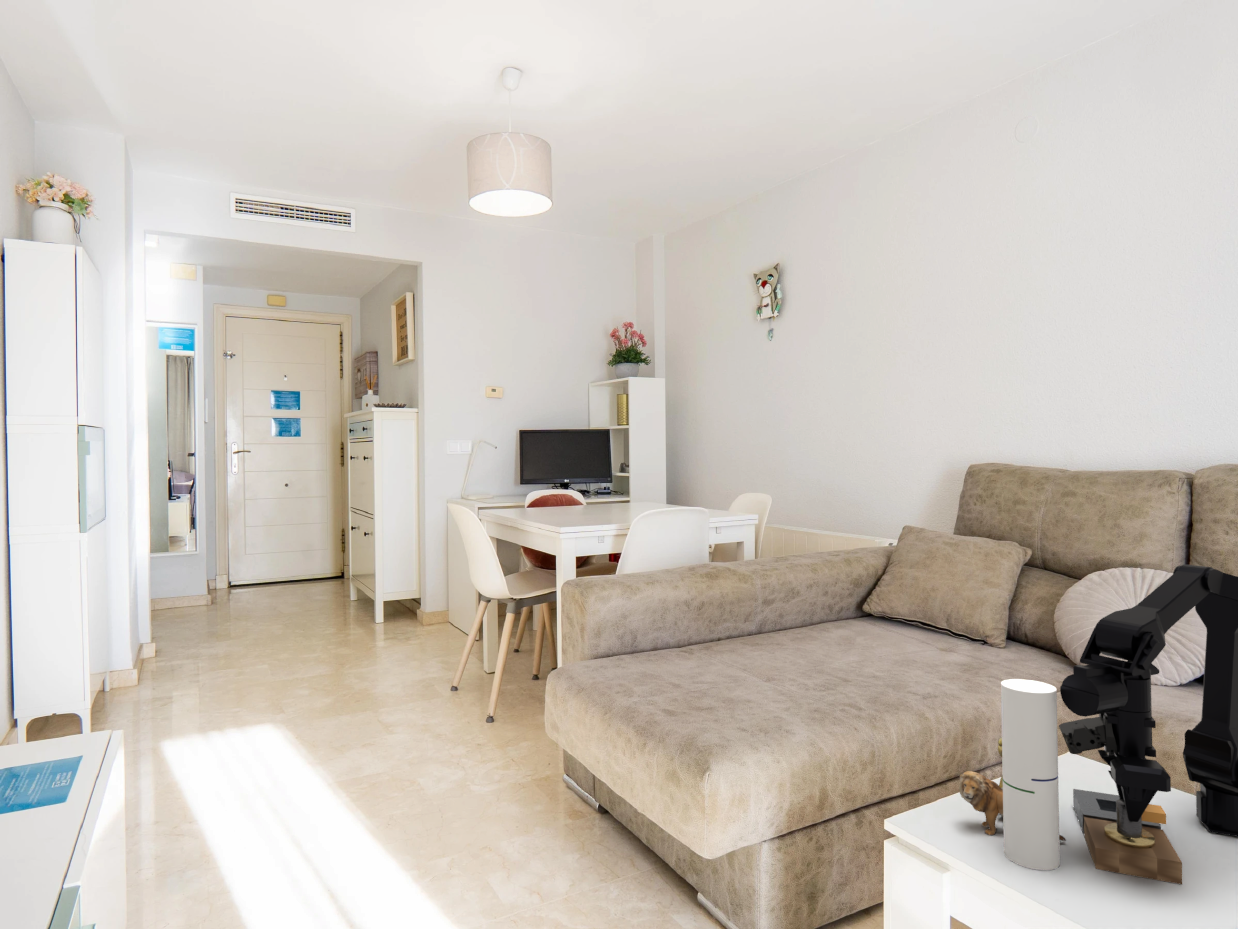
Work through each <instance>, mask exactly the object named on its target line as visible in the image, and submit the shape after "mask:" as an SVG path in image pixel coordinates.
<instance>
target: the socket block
mask: <svg viewBox="0 0 1238 929" xmlns="http://www.w3.org/2000/svg"><path fill="white" fill-rule="evenodd" d="M1072 792H1073V793H1072V794H1073V795H1072V796H1073V797H1072V798H1073V806H1074V807H1073V810H1074V809H1075V810H1074V811H1075V812H1074V813H1075V815H1076V818H1077V820H1079V821H1078V823H1079V826H1080V828H1081V829H1080V830H1081V831H1082V834H1083V835H1084V817H1087V818H1093V819H1099V820H1106V821H1112V822H1117V814H1116V800H1118V799H1120V798H1119V795H1117V794H1111V793H1104V792H1098V791H1090V790H1083V789H1076V788H1072ZM1142 826H1144V827H1150V828H1156V829H1162V826H1161V824H1160V823H1153V822H1147V821H1142Z"/></svg>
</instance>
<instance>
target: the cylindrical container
mask: <svg viewBox="0 0 1238 929" xmlns="http://www.w3.org/2000/svg"><path fill="white" fill-rule="evenodd" d="M1057 691H1058V690H1057V687H1056V686H1054V685H1052V684H1050V683H1047V682H1043V681H1039V680H1032V679H1023V678H1010V679H1009V678H1008V679H1004V680H1001V681H1000V699H1001V701H1000V702H1001V703H1000V704H1001V737H1002V757H1001V760H1002V761H1001V762H1002V763H1001V764H1002V766H1001V767H1002V774H1003V817H1002V821H1003V823H1002V825H1003V827H1002V828H1003V854H1004V856H1005V857H1006V858H1007V859H1008V860H1009V861H1011V862H1013V863H1014V864H1017V865H1018V866H1021V867H1024V868H1027V869H1031V870H1035V871H1036V870H1037V871H1052V870H1055V869H1057V868H1059V867H1060V865H1061V861H1060V860H1061V859H1060V858H1061V857H1060V854H1061V853H1060V852H1061V850H1060V840H1059V835H1060V811H1059V810H1060V808H1059V807H1060V804H1059V803H1060V802H1059V800H1060V798H1059V752H1058V751H1059V750H1058V745H1059V743H1058V740H1059V739H1058V694H1057V693H1058V692H1057Z"/></svg>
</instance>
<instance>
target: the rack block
mask: <svg viewBox="0 0 1238 929" xmlns="http://www.w3.org/2000/svg"><path fill="white" fill-rule="evenodd" d="M1111 823H1117V822H1112V821H1106V820H1099V819H1093V818H1087V817H1084V834H1083V836H1084V840H1085V842H1086V846H1087V848H1088V851H1089V854H1090V857H1091V860H1092V862H1093V864H1094V868H1095V870H1101V871H1106V872H1111V873H1112V872H1113V873H1117V874H1121V875H1122V874H1123V875H1129V876H1134V877H1139V878H1144V879H1150V880H1156V881H1162V882H1168V883H1170V884H1171V883H1172V884H1177V885H1183V862H1182V859H1181V858H1180V856H1179V855H1178V853H1177V852H1176V850H1175V847H1174V846H1173V845H1172V842H1171V841H1170V839H1169V838H1168V835H1167V834H1166V833H1165V830H1164V829H1162V828H1161V829H1156V828H1150V827H1144V826H1142V829H1144V830H1146V831H1148V832H1149V833H1151V834H1152V835H1153V836H1154V838H1155V845H1154V846H1153V847H1151V848H1133V847H1129V846H1125V845H1122V844H1119V843H1117V842H1114V841H1112V840H1111V839H1109V838H1108V837H1107V836H1106V835H1105V826H1106V825H1107V824H1111Z"/></svg>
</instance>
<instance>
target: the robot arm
mask: <svg viewBox="0 0 1238 929" xmlns="http://www.w3.org/2000/svg"><path fill="white" fill-rule="evenodd" d="M1193 608H1194V610H1195V613H1196V614H1197V615H1198V617H1199V618H1200V620H1201V622H1202V623H1203V625H1204V627H1205V629H1206V636H1205V637H1206V639H1205V655H1204V668H1203V669H1204V670H1203V686H1202V688H1203V689H1202V704H1201V705H1202V706H1201V719H1200V721H1199V722H1198V723H1197V724H1196V725H1195V726H1194V727H1193V728H1192V729H1188V728H1187V730H1186V731H1185V733H1184V746H1183V747H1184V748H1183V751H1182V757H1183V762H1184V765H1185V769H1186V773H1187V777H1188V780H1189V781H1191V782H1196V783H1198V784H1199V787H1200V788H1199V790H1196V791H1195V793H1196V794H1195V799H1196V800H1195V801H1196V802H1195V804H1196V817H1197V818H1198V820H1200V822H1201V824H1203V826H1204V827H1205V828H1206V830H1207V831H1208V832H1210V833H1212V834H1213V833H1214V834H1220V835H1225V836H1226V835H1227V836H1232V837H1233V836H1234V837H1238V576H1236V575H1234V574H1233V575H1232V574H1230V573H1226V572H1223V571H1221V570H1219V569H1216V568H1213V567H1212V566H1206V565H1205V566H1203V565H1195V564H1194V565H1192V564H1182V565H1177V566H1176V567H1175V568H1174V569H1173V573H1172V574H1171V575H1170V576H1169V577H1168V578H1167V579H1166V580H1165V581H1163V582H1162V583H1161V584H1160V585H1158V586H1157V587H1156V588H1155V589H1154V590H1153V591H1152V592H1150V593H1149V594H1148V595H1146V597H1145V598H1143V599H1141V601H1140V602H1139V603H1137V604H1136V605H1134V606H1133V607H1130V608H1125V609H1121V610H1116V611H1113V612H1111V613H1110V614H1107V615H1106V616H1104V617H1102V618H1101V619H1099V620H1098V622H1097V623H1096V624H1095V626H1094V628H1093V630H1092V633H1091V634H1090V636H1089V639H1088V641H1087V643H1086V645H1085V648H1084V650H1083V651H1082V654H1081V656H1080V658H1079V663H1081V664H1077V665H1074V666H1073V673H1072V674H1069V675H1067V676H1066V677H1064V678H1063V681H1062V682H1061V683H1062V684H1061V685H1060V688H1059V692H1060V696H1061V699H1062V700H1061V701H1062V702H1063V704H1064V705H1065V706H1066V707H1067V709H1069V711H1070V712H1072V713H1073V714H1075V715H1077V716H1079V717H1084V718H1081V719H1077V720H1070V721H1067V722H1063V723H1060V724H1059V725H1058V728H1059V730H1060V733H1061V734H1062V737H1063V740H1064V742H1065V744H1066V746H1067V750H1068V752H1069V754H1071V755H1079V754H1080V755H1081V754H1082V753H1083V752H1087V751H1092V750H1097V749H1098V750H1097V752H1098V754H1099V756H1100V758H1101V759H1102V760H1103V761H1104V762H1105V763H1106V764H1107V765H1108V766H1110V770H1107V772H1108V774H1109V775H1110V777H1111V779H1112V780H1113V781H1114V783H1115V786H1116V790H1117V794H1118V795H1119V798H1120V799H1124V802H1125V807H1126V812H1127V816H1128V819H1129V821H1132V822H1138V821H1139V819H1140V818H1141V816H1142V814H1143V813H1144V811H1145V809H1146V808H1147V806H1148V804H1151V801H1152V800H1153V799H1154V796H1155V795H1156V794H1157V792H1161V793H1162V792H1164V793H1169V792H1172V784H1171V783H1172V780H1171V776H1170V775H1169V773H1168V772H1167V771H1166V769H1165V768H1164V766H1162V765H1161V763H1159V762H1158V760H1154V759H1148V758H1147V757H1150V758H1151V757H1152V758H1157V750H1156V748H1155V747H1154V746H1153V729H1156V726H1157V725H1156V720H1155V718H1154V717H1153V716H1152V715H1153V712H1152V676H1154V675H1159V674H1160V669H1159V668H1158V667H1157V666H1156V665H1155V664H1153V662H1154V660H1156V658H1157V657H1158V656H1159V655H1160V653H1162V651H1163V649H1164V648H1165V647H1166V645H1167V644H1166V633H1167V632H1168V631H1169V630H1170V629H1171V628H1172V627H1173V626H1175V624H1176V623H1178V622H1179V621H1180V620H1181V619H1182V618H1183V617H1184V616H1186V615H1187V614H1188V613H1189V612H1190V611H1192V609H1193ZM1082 664H1083V665H1082ZM1095 715H1098V716H1096V717H1092V716H1095ZM1090 716H1091V717H1090Z"/></svg>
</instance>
